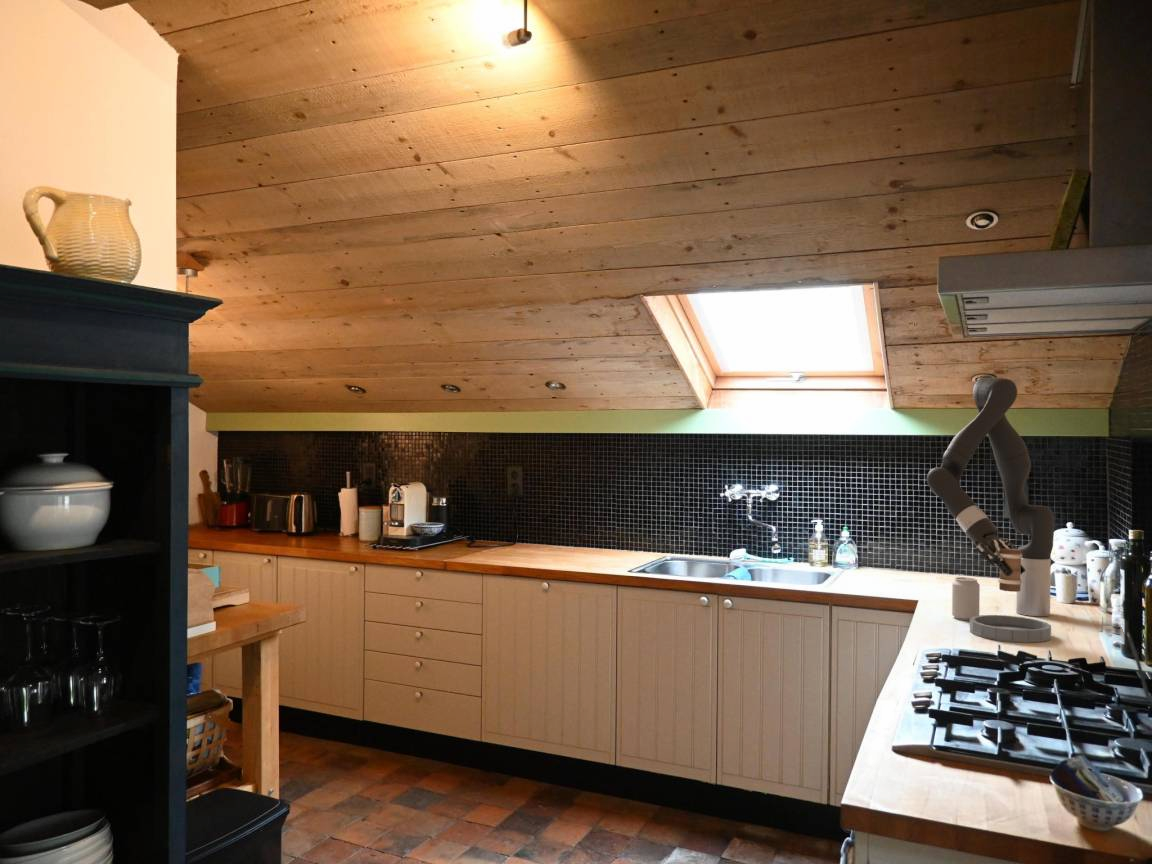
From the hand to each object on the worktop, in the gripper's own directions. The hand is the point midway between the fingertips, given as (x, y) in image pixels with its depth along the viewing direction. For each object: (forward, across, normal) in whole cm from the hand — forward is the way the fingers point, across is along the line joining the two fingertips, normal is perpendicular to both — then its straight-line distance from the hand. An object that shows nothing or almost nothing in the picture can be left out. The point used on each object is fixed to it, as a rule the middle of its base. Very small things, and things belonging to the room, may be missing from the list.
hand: (1016, 573), depth 246 cm
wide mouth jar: (-3, +9, +27) cm, 29 cm away
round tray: (+11, 0, +13) cm, 17 cm away
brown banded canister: (+2, 0, +5) cm, 5 cm away
